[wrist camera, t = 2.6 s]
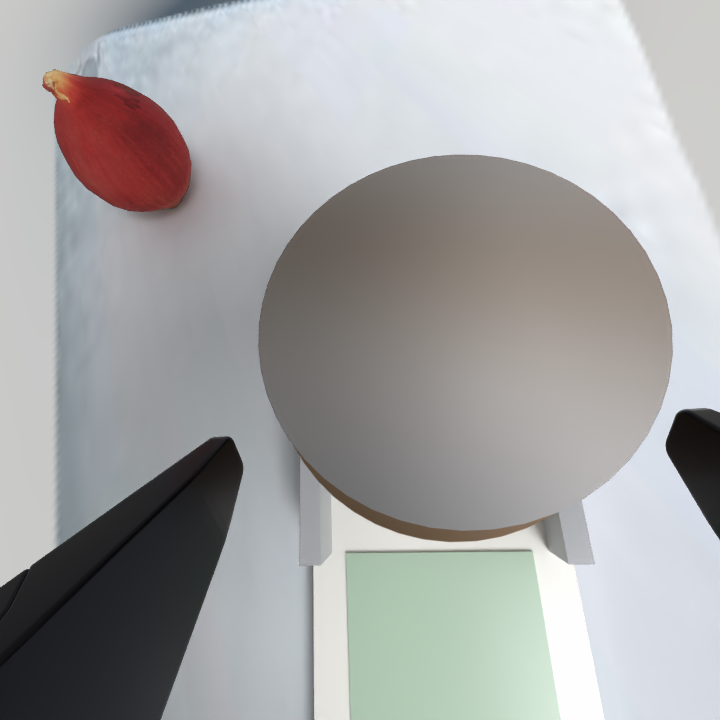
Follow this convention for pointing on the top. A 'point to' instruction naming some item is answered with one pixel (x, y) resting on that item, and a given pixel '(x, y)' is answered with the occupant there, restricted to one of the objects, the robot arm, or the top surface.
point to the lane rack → (446, 619)
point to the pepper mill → (464, 346)
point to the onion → (119, 142)
